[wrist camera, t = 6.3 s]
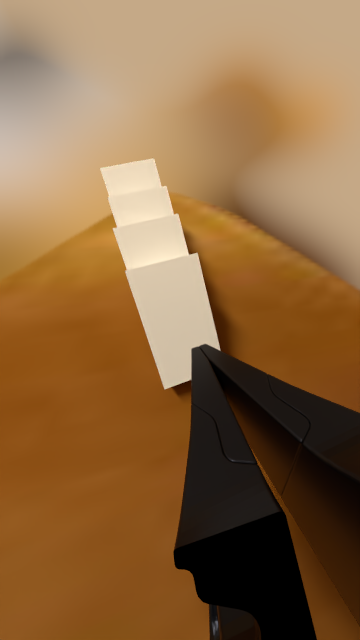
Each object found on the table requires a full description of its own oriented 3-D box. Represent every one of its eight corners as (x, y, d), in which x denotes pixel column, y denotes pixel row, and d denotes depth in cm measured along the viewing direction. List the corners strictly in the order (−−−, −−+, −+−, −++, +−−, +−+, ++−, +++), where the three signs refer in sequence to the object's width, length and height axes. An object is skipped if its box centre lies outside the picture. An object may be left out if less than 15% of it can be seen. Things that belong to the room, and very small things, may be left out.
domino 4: (224, 367, 13) (197, 252, 11) (164, 389, 12) (124, 270, 10) (215, 358, 15) (191, 259, 13) (163, 376, 14) (130, 275, 12)
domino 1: (180, 255, 16) (153, 158, 15) (133, 268, 16) (100, 168, 14) (178, 260, 18) (154, 175, 17) (136, 271, 18) (107, 184, 16)
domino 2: (193, 288, 15) (166, 185, 14) (142, 303, 15) (107, 197, 13) (189, 290, 17) (165, 200, 15) (144, 302, 17) (114, 210, 15)
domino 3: (206, 322, 14) (178, 213, 12) (151, 341, 13) (112, 228, 11) (200, 320, 16) (175, 225, 14) (152, 335, 15) (119, 238, 13)
